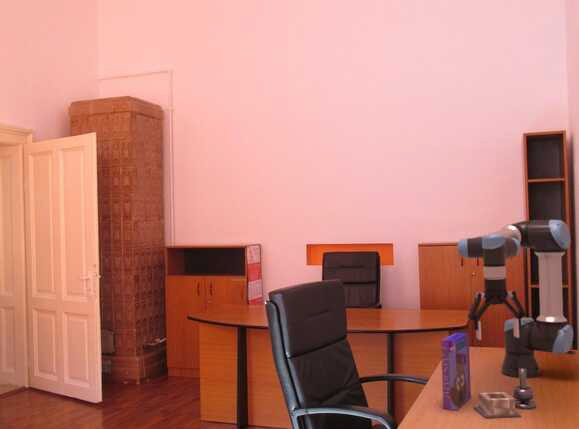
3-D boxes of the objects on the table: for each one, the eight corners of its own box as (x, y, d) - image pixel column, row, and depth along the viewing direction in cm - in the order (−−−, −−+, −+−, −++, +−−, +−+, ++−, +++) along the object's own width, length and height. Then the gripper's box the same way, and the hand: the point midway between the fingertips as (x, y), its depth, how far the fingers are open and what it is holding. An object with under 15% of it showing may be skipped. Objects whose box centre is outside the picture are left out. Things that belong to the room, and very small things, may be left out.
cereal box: (456, 411, 209) (454, 341, 209) (443, 409, 211) (441, 340, 212) (470, 398, 223) (468, 332, 224) (458, 396, 226) (455, 331, 226)
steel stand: (529, 402, 216) (528, 365, 217) (540, 408, 208) (538, 370, 209) (507, 403, 216) (506, 366, 216) (517, 409, 208) (516, 371, 208)
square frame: (504, 406, 210) (503, 391, 210) (515, 414, 201) (514, 399, 201) (478, 407, 210) (478, 392, 210) (488, 415, 201) (488, 400, 201)
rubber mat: (507, 407, 211) (507, 405, 211) (520, 417, 200) (520, 415, 200) (473, 408, 211) (473, 406, 211) (485, 418, 200) (485, 416, 200)
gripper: (524, 274, 219) (527, 333, 219) (456, 278, 217) (459, 337, 217) (534, 277, 211) (537, 337, 211) (464, 281, 210) (467, 342, 210)
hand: (497, 338), depth 214 cm, fingers open, 13 cm apart
